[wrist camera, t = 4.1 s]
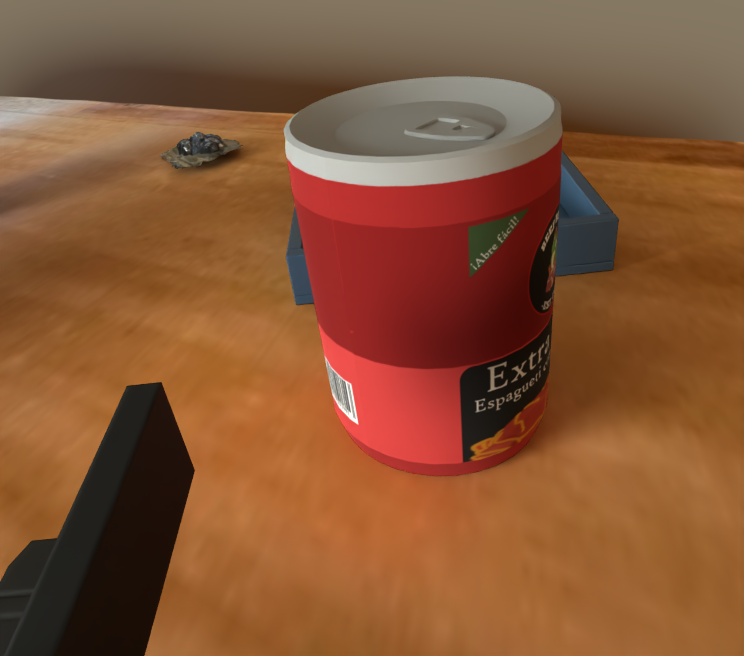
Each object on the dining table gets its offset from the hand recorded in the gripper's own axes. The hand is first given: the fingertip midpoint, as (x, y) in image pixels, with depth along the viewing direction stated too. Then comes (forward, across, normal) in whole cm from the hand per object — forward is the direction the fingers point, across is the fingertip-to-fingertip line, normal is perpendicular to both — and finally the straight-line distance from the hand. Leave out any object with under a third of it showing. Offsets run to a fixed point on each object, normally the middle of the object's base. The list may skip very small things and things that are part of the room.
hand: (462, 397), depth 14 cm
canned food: (+8, 0, -7) cm, 10 cm away
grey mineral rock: (+40, -16, -7) cm, 44 cm away
